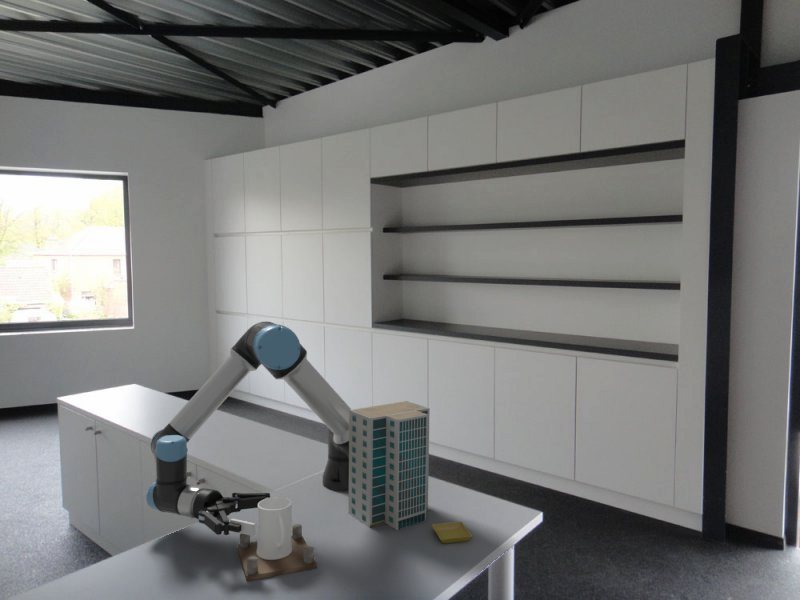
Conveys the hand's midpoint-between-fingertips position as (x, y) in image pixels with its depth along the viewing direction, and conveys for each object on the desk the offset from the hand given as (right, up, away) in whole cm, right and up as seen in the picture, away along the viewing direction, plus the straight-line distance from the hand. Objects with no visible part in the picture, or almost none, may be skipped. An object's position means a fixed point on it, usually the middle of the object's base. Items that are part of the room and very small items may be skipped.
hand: (271, 518), depth 138 cm
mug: (+1, -9, 0) cm, 9 cm away
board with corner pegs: (+1, -10, 0) cm, 10 cm away
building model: (+29, -9, +25) cm, 40 cm away
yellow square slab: (+44, -10, +13) cm, 47 cm away
